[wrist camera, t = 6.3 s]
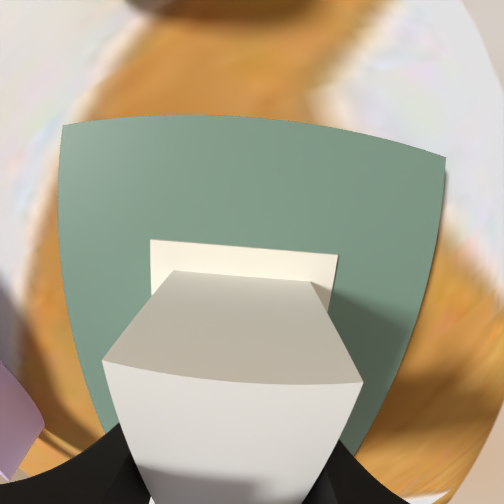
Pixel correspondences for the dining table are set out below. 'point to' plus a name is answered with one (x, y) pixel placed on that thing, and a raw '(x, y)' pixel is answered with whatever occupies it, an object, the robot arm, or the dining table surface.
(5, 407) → the purple lobed piece
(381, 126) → the dining table surface
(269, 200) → the board
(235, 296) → the plug housing
